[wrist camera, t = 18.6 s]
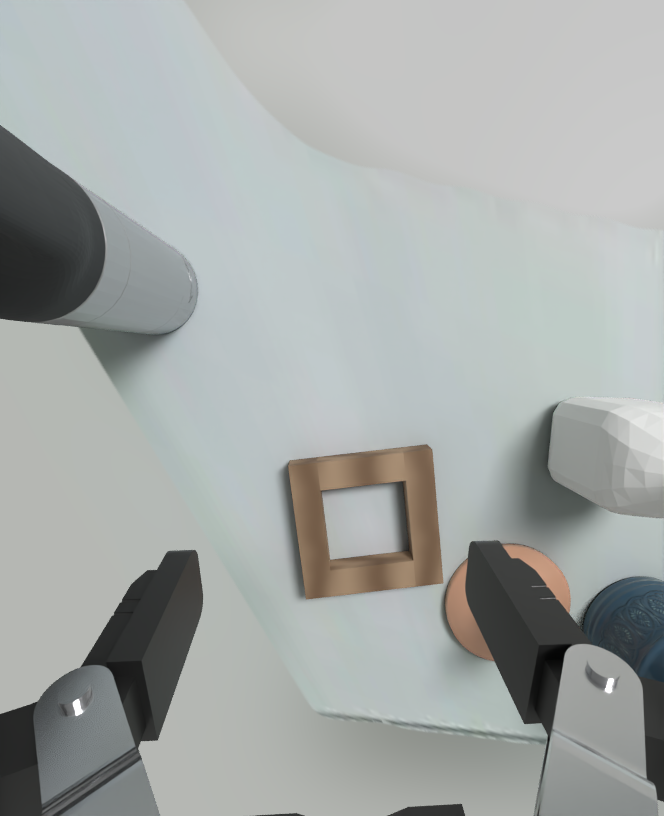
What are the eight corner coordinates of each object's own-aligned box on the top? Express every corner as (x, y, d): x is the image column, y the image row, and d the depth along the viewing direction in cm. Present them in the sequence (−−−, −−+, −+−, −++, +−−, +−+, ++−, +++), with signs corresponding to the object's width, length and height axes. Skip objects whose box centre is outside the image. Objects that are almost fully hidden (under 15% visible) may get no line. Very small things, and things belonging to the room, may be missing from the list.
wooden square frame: (307, 587, 45) (306, 599, 43) (289, 460, 43) (288, 466, 41) (437, 572, 45) (443, 583, 43) (426, 444, 43) (432, 449, 41)
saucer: (449, 662, 47) (452, 668, 46) (440, 551, 45) (442, 555, 44) (567, 648, 47) (572, 654, 46) (563, 536, 45) (568, 540, 44)
